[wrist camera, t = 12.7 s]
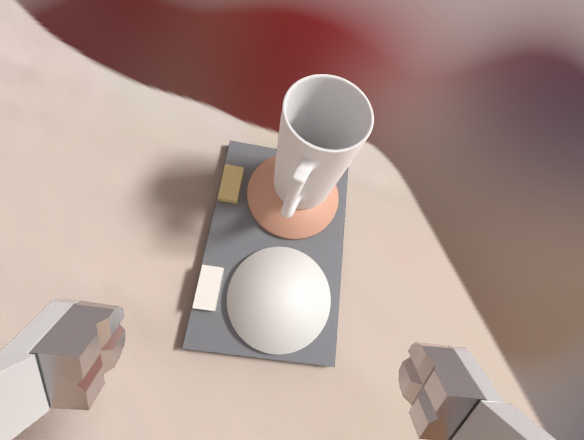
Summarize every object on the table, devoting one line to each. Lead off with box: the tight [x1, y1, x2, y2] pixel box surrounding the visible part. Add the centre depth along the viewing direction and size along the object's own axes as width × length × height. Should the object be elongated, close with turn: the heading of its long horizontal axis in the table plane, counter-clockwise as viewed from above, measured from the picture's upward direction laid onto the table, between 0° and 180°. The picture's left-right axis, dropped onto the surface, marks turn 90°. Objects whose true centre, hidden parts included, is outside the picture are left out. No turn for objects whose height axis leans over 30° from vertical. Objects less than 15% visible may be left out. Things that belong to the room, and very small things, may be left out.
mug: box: [274, 74, 374, 217], centre depth 26 cm, size 10×7×12 cm, turn 156°
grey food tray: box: [182, 141, 348, 367], centre depth 31 cm, size 14×22×2 cm, turn 173°
